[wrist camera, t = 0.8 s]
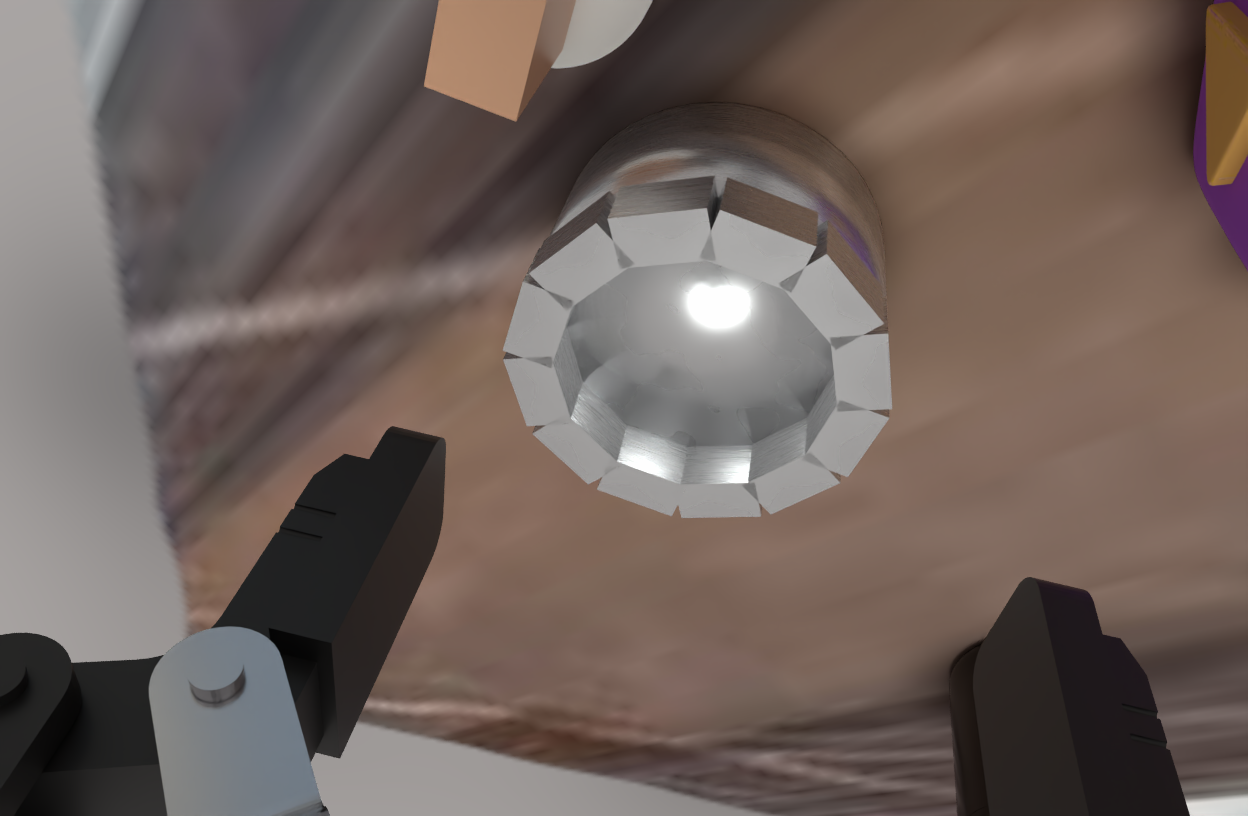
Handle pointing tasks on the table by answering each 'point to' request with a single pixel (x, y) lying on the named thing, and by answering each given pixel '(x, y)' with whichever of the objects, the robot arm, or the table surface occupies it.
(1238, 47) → the toy camera
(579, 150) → the table surface
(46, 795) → the robot arm
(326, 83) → the table surface
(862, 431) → the glass candle holder
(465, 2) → the knob lid with grip
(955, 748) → the supplement bottle
